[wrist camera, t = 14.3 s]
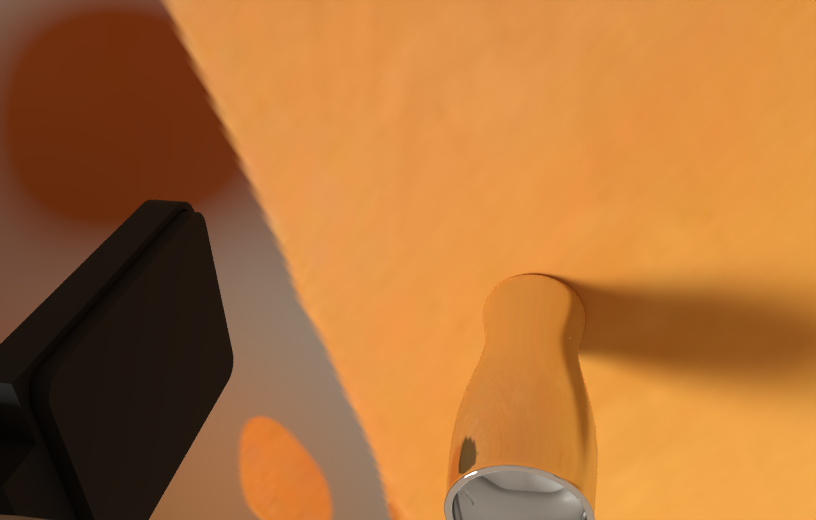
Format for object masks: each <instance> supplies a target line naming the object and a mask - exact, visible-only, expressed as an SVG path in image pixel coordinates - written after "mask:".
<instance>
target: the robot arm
mask: <svg viewBox="0 0 816 520" xmlns="http://www.w3.org/2000/svg"><path fill="white" fill-rule="evenodd" d="M232 368H233V352H232V347H231V342H230V338H229V333H228V328H227V323H226V318H225V314H224V309H223V305H222V299H221V295H220V289H219V285H218V280H217V275H216V270H215V266H214V261H213V256H212V251H211V246H210V242H209V237H208V232H207V227H206V222H205V220H204V217H203V215H202V214H201V213H199V212H194V209H193V208H192V206H191V205H190V204H189V203H187V202H182V201H166V200H147V201H146V202H144V203H143V204H142V205H141V206H140V207H139V208H138V209H137V210H136V211H135V212H134V213H133V214H132V215H131V216H130V217H129V218H128V219H127V220H126V221H125V222H124V223H123V224H122V225H121V226H120V227H119V228H118V229H117V230H116V231H115V232H114V233H113V234H112V235H111V236H110V237H109V238H108V239H107V240H106V241H104V242H103V243H102V244H101V245H100V246H99V248H97V249H96V250H95V251H94V253H92V254H91V255H90V256H89V257H88V259H86V260H85V261H84V262H83V263H82V264H81V265H80V267H78V268H77V269H76V270H75V271H74V272H73V273H72V274H71V275H70V276H69V277H68V278H67V279H66V280H65V281H64V282H63V283H62V284H61V285H60V286H59V287H58V288H57V289H56V290H55V291H54V292H53V293H52V294H51V295H50V296H49V297H48V298H47V299H46V300H45V301H44V302H43V303H42V304H41V305H40V306H39V307H38V308H37V309H36V310H35V311H34V312H33V313H32V314H31V315H30V316H29V317H27V319H26V320H25V321H23V322H22V324H20V325H19V326H18V328H17V329H15V330H14V331H13V332H12V333H11V334H10V335H9V336H8V337H7V338H6V339H5V340H4V341H3V342H2V343H1V344H0V520H149V518H150V516H151V515H152V513H153V511H154V509H155V507H156V506H157V504H158V502H159V501H160V499H161V497H162V495H163V494H164V492H165V490H166V488H167V487H168V485H169V483H170V481H171V480H172V478H173V476H174V475H175V473H176V471H177V469H178V468H179V466H180V464H181V462H182V460H183V459H184V457H185V455H186V454H187V452H188V450H189V448H190V447H191V445H192V443H193V441H194V440H195V438H196V436H197V434H198V433H199V431H200V429H201V427H202V426H203V424H204V422H205V421H206V419H207V417H208V415H209V414H210V412H211V410H212V408H213V407H214V405H215V403H216V401H217V400H218V398H219V396H220V394H221V393H222V391H223V389H224V387H225V386H226V384H227V382H228V381H229V378H230V376H231V373H232Z"/></svg>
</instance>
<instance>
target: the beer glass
mask: <svg viewBox="0 0 816 520" xmlns="http://www.w3.org/2000/svg"><path fill="white" fill-rule="evenodd" d="M482 317H483V327H484V334H485V342H484V348H483V352H482V354H481V356H480V359H479V361H478V363H477V365H476V368H475V370H474V372H473V374H472V376H471V379H470V381H469V383H468V385H467V388H466V390H465V392H464V395H463V398H462V401H461V403H460V406H459V409H458V412H457V416H456V420H455V425H454V429H453V433H452V440H451V447H450V454H449V463H448V475H447V490H446V498H445V503H444V512H445V517H446V520H595V517H594V513H595V501H596V489H597V468H598V449H597V436H596V426H595V421H594V416H593V411H592V406H591V402H590V398H589V395H588V391H587V387H586V384H585V380H584V377H583V374H582V370H581V366H580V362H579V345H580V342H581V338H582V335H583V331H584V327H585V311H584V307H583V305H582V302H581V300H580V299H579V297H578V296H577V294H576V293H575V292H574V291H573V290H572V289H571V288H570V287H568V286H567V285H566V284H564V283H562V282H561V281H559V280H556V279H554V278H551V277H548V276H544V275H536V274H528V275H520V276H516V277H512V278H510V279H507V280H505V281H503V282H502V283H500V284H499V285H497V286H496V287H495V288H494V289H493V290H492V291H491V293H490V294H489V295H488V297H487V299H486V301H485V303H484V307H483V316H482Z"/></svg>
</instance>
